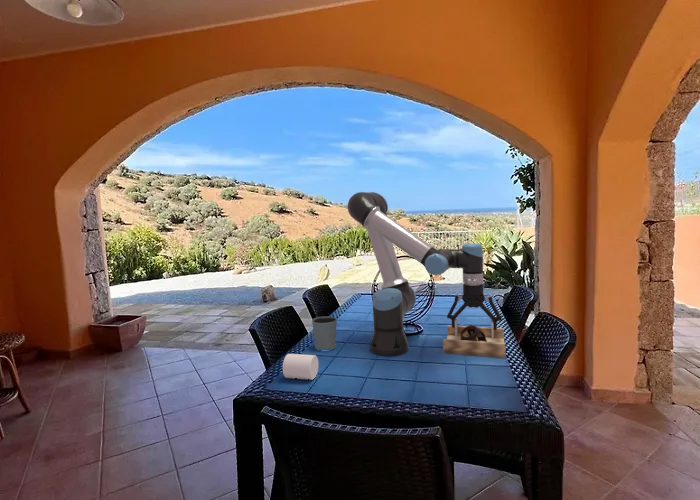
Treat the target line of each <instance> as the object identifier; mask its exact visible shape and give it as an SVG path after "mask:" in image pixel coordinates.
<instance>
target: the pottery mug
mask: <svg viewBox="0 0 700 500" xmlns="http://www.w3.org/2000/svg"><path fill="white" fill-rule="evenodd" d="M466 326H467V327H465V328H463V329H462V331H461V332H460V334H461V339H460V340H467V341H477V338H478V341H485V342H487V340H486V337H485V334H484V333H483V331H482V330H481V329H479V328H477V327H478V326H477V325H473V324H470V325H466ZM475 330H476V331H475ZM465 331H467V332H468V334H469V335H470V336H468V337H464V336H463V333H464V332H465ZM476 337H477V338H476Z"/></svg>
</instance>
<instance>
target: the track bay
mask: <svg viewBox="0 0 700 500" xmlns="http://www.w3.org/2000/svg"><path fill="white" fill-rule="evenodd" d="M467 326H468V325H457V333H458V335H457V337H455V328H452V324H451V325H450V324H447V337H446V338H443V339H442V353H443V354H449V355H450V354H451V355H452V354H453V355H463V356H477V357H486V358H487V357H489V358H501V359H502V358H503V359H504V358H505V359H506V342H505V336H504V335H505V333H504V332H505V331H504V330H505V328H504V327H497V329H496V330H494V339H492V330H491V326H490V327H488V326H487V327H486V326H476V327H477V328H479V329H481V330H482V331H483V333H484V334H485V337H486V340H487V342H485V341H478V338H477V337H476V338H477V341H467V340H460V339H461V334H460V332H461V331H462V329H463V328H465V327H467ZM475 331H476V330H475ZM463 336H464V337H468V336H470V335H469V334H468V332H467V331H465V332H464V333H463Z"/></svg>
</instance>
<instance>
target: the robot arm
mask: <svg viewBox="0 0 700 500" xmlns="http://www.w3.org/2000/svg"><path fill="white" fill-rule="evenodd" d="M388 209H389V203H388V201H387V199H386V198H385V196H383V195H382V194H380V193H377V192H375V191H374V192H373V191H370V192H369V191H368V192H364V191H360V192H356V193H354V194H353V195H351V197H349V200H348V202H347V212H348V214H349V215H350V217H351V218H352V219H353V220H354V221H356V222H357V223H359V224H360V225H362V228H364V229H366V230H367V234H368V237H369V240H370V243H371V246H372V250H373V253H374V256H375V259H376V263H377V265H378V268H379V272H380V276H381V279H382V285H381V288H380V289H378V290H377V291H375V292H374V293H373V295H372V301H371V304H372V315H373V333H372V335H371V336H372V338H371V339H370V351H371V352H372V353H374V354H376V355H379V356H387V357H388V356H389V357H390V356H398V355H402V354H405V353H407V352H408V350H409V349H410V348H409V341H408V339H407V338H408V337H407V336H406V333H405V330H404V315H406V314H408V313H409V312H410V311H411V310H412V309H413V308H414V306H415V304H416V301H417V295H416V294H417V293H416V292H415V290H414V288H412V287H411V286H410V283H409V281H408V279H407V278H406V277H404V275H403V274H402V270H401V268H400V267H401V266H400V264H399V261H398V258H397V255H396V251H395V248H394V246H396V247H397V248H399V249H400V250H402V252H404V253H405V254H407V255H409V256H410V257H411V258H413V259H414V260H416V261H417V262H419V263H420V264H421V265H423V266H424V268H425V270H426V272H427V273H429V274H430V275H433V276H439V275H442V274H444V273H446V272H447V270H449V269H462V283H463V284H462V295H459V294H455V296H454V301H453V303H452V305H451V307H450V309H449V311H448V313H447V316H446V318H447V319H449V320H451V325H452V328H455V337H457V335H458V333H457V326H458V317H459V316H460V315H461V313H462V312H463V311H464V310H465V309H466V308H467V307H468V308H475V309H476V308H480V309H482V311H483V312H484V313H485V314H486V315H487V316H488V317H489V318H490V319H491V321H490V322H491V325H490V328H491V330H492V339H494V330H496V329H497V328H498V327H497V325H498V324H497V322H500V321H503V319H502V315H501V313H500V312H499V311H498V308H497V307H496V305H495V303H494V301H493V296H492V295H488V296H485V294H484V284H483V283H484V255H483V246H482V244H480V243H464V244H462V245H461V248H458V249H457V248H453V249H452V248H451V249H450V248H438V249H437V248H435V247H433V246H432V245H431V244H429V243H428V242H426V241H425V240H423V239H422V238H421V237H419V236H418V235H416V234H415V233H413V232H412V231H410V230H409V229H408V228H406V227H404V226H403V225H401V224H400V223H398V222H397V221H396V220H394V219H392V218H391V217H390V216H388V213H387V212H388ZM461 300H462V301H463V304H462V305H461V306H460V307H459V308H458V309H457V311H456V312H455V313H454V314H453V312H454V310H455V308H456V307H457V304H458V302H460V301H461ZM485 301H486V302H487V303H489V305H490V307H491V308H492V311H493V313H494V314H493V313H492V312H491V310H489V308H488V307H487V306H486V305H485V304H484V302H485ZM452 314H453V315H452Z"/></svg>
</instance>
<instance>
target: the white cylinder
mask: <svg viewBox="0 0 700 500" xmlns="http://www.w3.org/2000/svg"><path fill="white" fill-rule="evenodd" d="M282 373H283V374H282V375H283V377H284V378H285V379H295V378H297V380H308V379H309V380H310V381H313V379H314V378H315V377H317V376H318V373H319V358H318V357H317V355H316V354H302V353H301V354H299V353H287V354H286V355H285V356H284V359H283V361H282ZM316 375H317V376H316ZM315 379H316V378H315ZM315 379H314V380H315Z"/></svg>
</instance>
